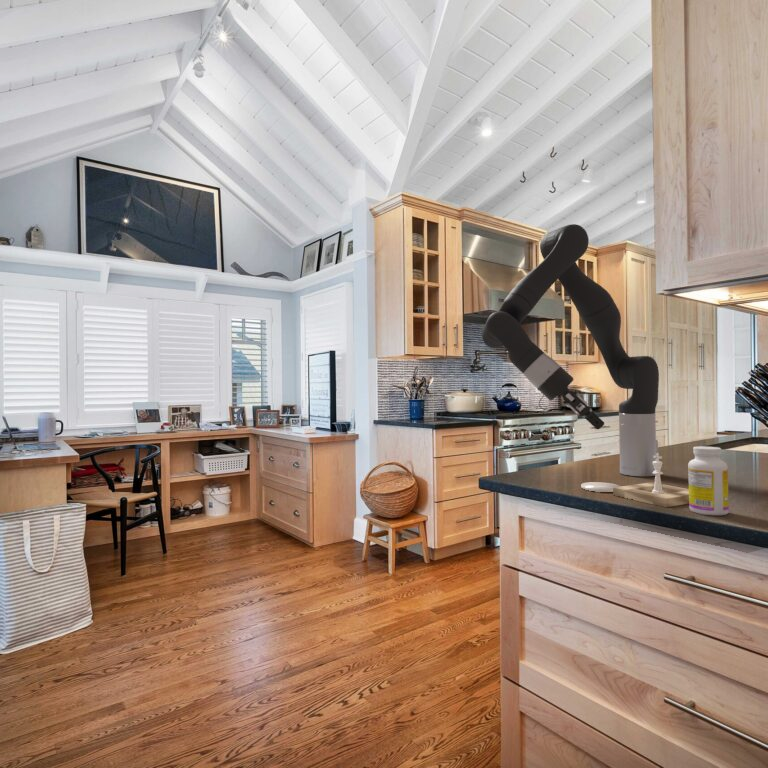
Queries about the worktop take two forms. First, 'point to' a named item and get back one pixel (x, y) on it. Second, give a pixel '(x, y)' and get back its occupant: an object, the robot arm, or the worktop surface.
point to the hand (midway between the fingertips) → (600, 425)
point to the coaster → (599, 486)
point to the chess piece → (657, 474)
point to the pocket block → (654, 494)
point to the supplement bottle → (708, 482)
